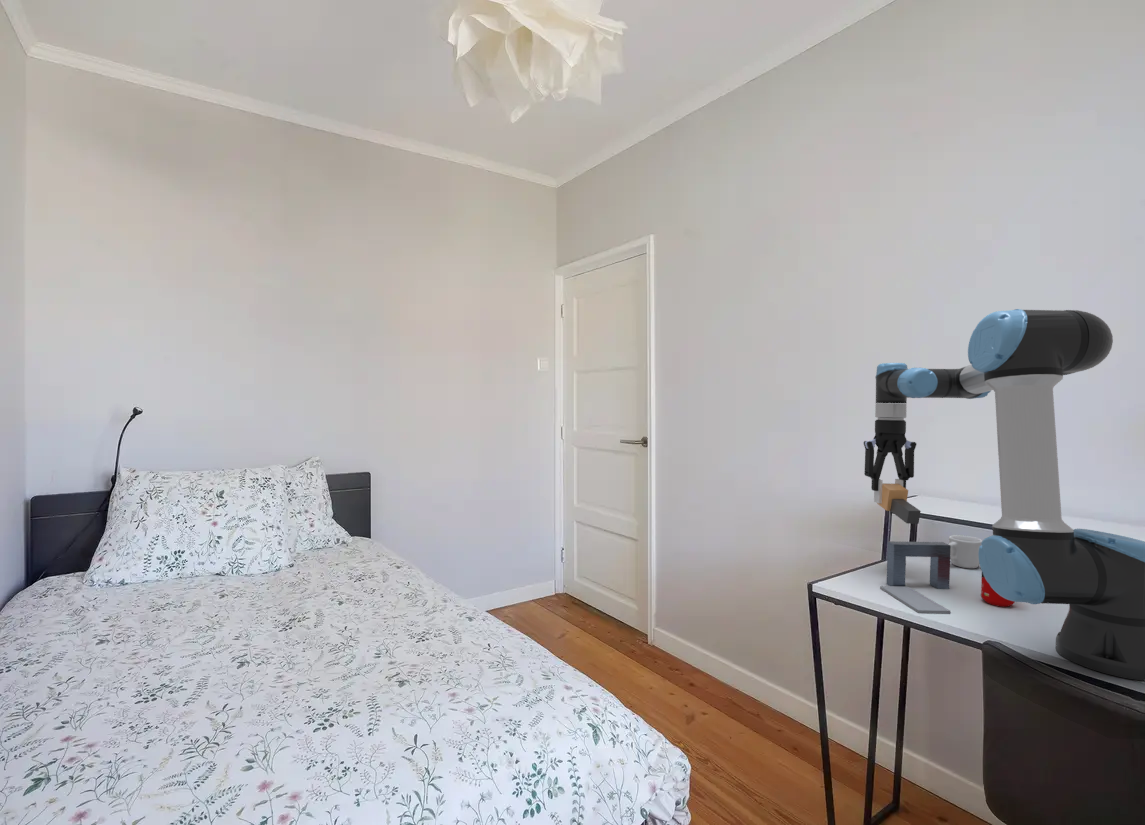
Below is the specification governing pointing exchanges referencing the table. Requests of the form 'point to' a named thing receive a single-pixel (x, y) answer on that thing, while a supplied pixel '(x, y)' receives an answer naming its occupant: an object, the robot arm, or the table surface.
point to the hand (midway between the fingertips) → (888, 502)
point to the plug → (899, 503)
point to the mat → (914, 599)
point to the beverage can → (992, 595)
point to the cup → (964, 551)
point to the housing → (919, 549)
